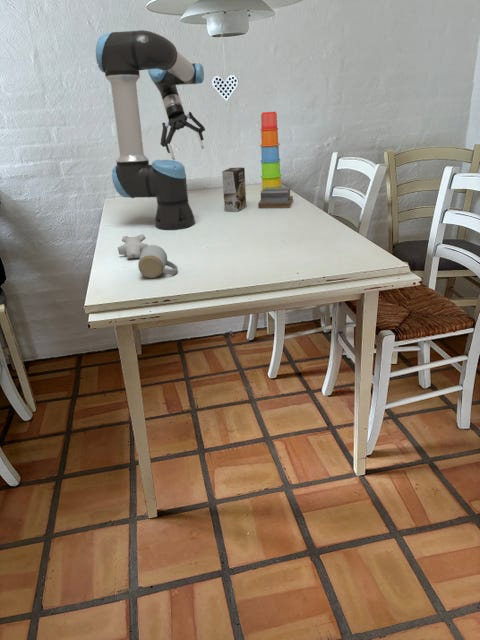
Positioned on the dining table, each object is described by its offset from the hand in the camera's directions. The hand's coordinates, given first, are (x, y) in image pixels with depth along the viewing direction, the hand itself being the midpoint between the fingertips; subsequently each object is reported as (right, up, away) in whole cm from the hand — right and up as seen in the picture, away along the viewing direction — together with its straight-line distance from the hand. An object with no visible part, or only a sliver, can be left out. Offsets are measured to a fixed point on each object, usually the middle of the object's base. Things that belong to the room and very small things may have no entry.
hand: (187, 153), depth 206 cm
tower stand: (+38, -23, -3) cm, 44 cm away
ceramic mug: (-1, -59, -68) cm, 90 cm away
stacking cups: (+38, -12, +18) cm, 43 cm away
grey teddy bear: (-12, -50, -50) cm, 72 cm away
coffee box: (+21, -26, -6) cm, 34 cm away
